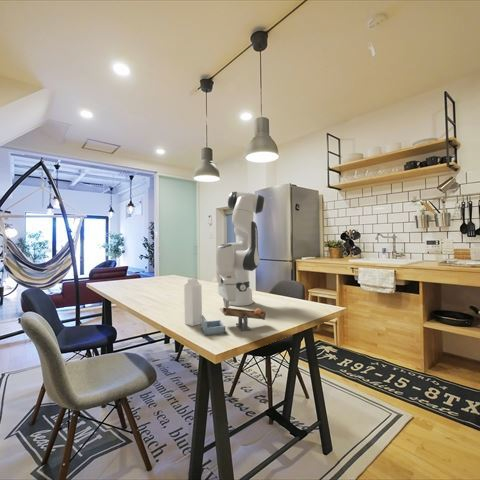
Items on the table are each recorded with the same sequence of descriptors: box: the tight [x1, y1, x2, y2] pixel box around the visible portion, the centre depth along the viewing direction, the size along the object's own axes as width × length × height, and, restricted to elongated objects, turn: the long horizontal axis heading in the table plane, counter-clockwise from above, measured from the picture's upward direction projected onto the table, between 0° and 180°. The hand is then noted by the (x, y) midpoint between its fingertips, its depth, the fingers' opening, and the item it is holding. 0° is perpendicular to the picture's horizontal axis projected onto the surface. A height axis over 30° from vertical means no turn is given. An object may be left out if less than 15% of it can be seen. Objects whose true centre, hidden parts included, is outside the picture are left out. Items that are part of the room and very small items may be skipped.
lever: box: [219, 307, 267, 321], centre depth 129 cm, size 19×12×4 cm, turn 107°
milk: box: [183, 277, 203, 327], centre depth 134 cm, size 6×6×22 cm
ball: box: [253, 308, 262, 314], centre depth 129 cm, size 4×4×4 cm
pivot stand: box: [235, 315, 252, 332], centre depth 126 cm, size 4×10×7 cm, turn 17°
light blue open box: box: [200, 314, 226, 337], centre depth 122 cm, size 10×9×6 cm
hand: (226, 307), depth 130 cm, fingers closed
